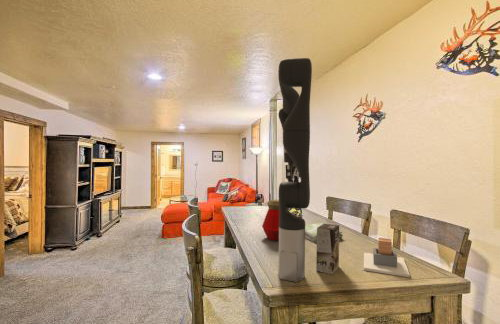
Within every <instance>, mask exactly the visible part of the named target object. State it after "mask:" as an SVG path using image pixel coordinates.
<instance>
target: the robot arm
mask: <svg viewBox="0 0 500 324" xmlns="http://www.w3.org/2000/svg"><path fill="white" fill-rule="evenodd" d="M312 64H313V63H312V60H311V59H310V58H309V57H308V58H307V57H299V58H298V57H297V58H284V59H281V60H280V62H279V64H278V73H277V74H278V84H279V87H280V93H281V97H282V107H281V108H280V109H279V111H278V119H279V122H280V124H281V127H282V146H283V162H284V163H285V167H284V168H285V179H287V181H282V182H280V184H279V186H278V200H279V241H278V277H279V280H284V281H290V282H293V283H294V282H296V283H297V282H299V281H302V280H304V278H305V275H306V274H305V270H306V269H305V267H306V238H305V225H306V220H305V219H304V218H303V217H300V216H298V215H295V214H293V213H292V212H291V211H290V210H289V209H307V208H308V207H309V206H310V203H311V202H310V201H311V189H310V188H311V185H310V145H311V144H310V143H311V117H310V116H311V115H310V114H311V113H310V112H311V110H310V106H311V92H312V91H311V90H312V76H313V75H312V74H313V73H312V72H313V69H312V68H313V67H312ZM294 87H295V88H301V89H300V90H301V91H300V93H299V92H298V91H297V90H296V89H295V88H294ZM286 163H287V164H286Z"/></svg>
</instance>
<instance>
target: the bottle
mask: <svg viewBox="0 0 500 324" xmlns="http://www.w3.org/2000/svg"><path fill="white" fill-rule="evenodd" d="M266 204H267V207H268V210H267V212H266V214H265V217H264V220H263V223H262V229H263V232H264V234H265V236H266V237H267V239H268V240H270V241H273V242H279V199H269V200H268V201H267V203H266Z"/></svg>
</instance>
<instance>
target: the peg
mask: <svg viewBox="0 0 500 324" xmlns="http://www.w3.org/2000/svg"><path fill="white" fill-rule="evenodd" d="M392 243H393V241H392V239H391V238H387V237H378V243H377V244H378V245H377V246H378V247H377V248H378V254H383V255H391V256H392V250H393V247H392Z"/></svg>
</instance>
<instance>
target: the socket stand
mask: <svg viewBox="0 0 500 324" xmlns="http://www.w3.org/2000/svg"><path fill="white" fill-rule="evenodd" d="M372 250H373V251H372V253H369V252H363V271H367V272H374V273H379V274H386V275H391V276H399V277H406V278H410V277H411V274H410V272H409V269H408V266H407V264H406V261H405V258H404V257H401V256H400V257H399V256H398V255H397V252H396V250H393V249H392V256H391V255H383V254H378V247H377V248H376V247H373V249H372Z"/></svg>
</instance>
